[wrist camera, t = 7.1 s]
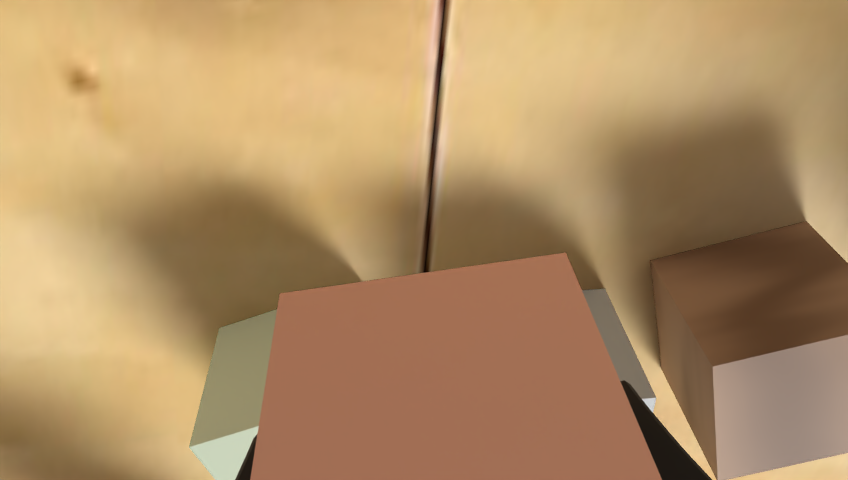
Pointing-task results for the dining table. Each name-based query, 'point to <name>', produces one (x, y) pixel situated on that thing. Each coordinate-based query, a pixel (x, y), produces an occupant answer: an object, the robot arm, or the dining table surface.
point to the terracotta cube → (447, 381)
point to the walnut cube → (757, 347)
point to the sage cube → (233, 395)
